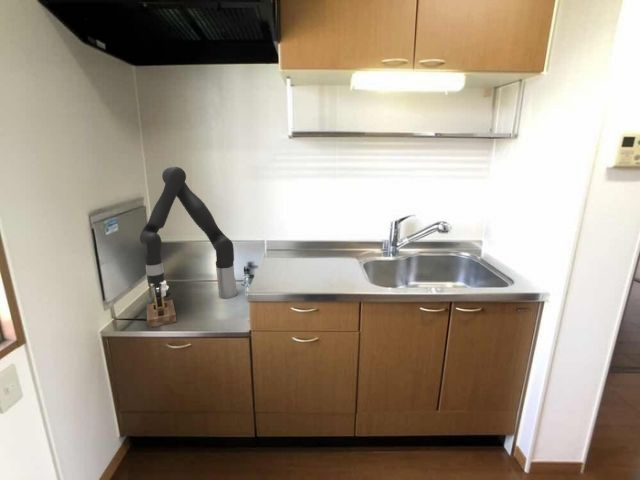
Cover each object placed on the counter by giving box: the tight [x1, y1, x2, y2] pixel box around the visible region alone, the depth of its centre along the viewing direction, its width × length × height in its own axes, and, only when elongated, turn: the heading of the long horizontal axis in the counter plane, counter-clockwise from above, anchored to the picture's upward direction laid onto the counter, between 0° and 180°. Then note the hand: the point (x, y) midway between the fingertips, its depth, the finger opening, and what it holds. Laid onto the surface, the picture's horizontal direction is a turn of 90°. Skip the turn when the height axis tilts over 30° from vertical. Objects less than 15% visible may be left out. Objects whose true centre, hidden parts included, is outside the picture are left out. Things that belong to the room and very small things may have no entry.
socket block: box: [146, 299, 177, 329], centre depth 169 cm, size 12×18×4 cm, turn 26°
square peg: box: [154, 297, 165, 309], centre depth 172 cm, size 4×4×8 cm
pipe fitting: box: [161, 280, 170, 298], centre depth 192 cm, size 6×7×8 cm
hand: (159, 303), depth 171 cm, fingers open, 8 cm apart
